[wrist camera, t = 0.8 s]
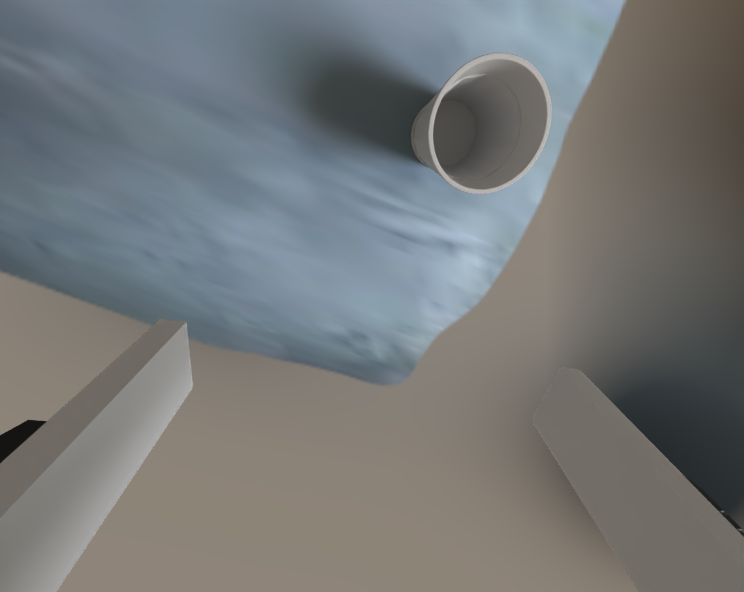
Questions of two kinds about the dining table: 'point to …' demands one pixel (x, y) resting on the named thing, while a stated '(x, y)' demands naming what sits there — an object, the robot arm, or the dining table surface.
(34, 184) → the dining table surface
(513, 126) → the cup
